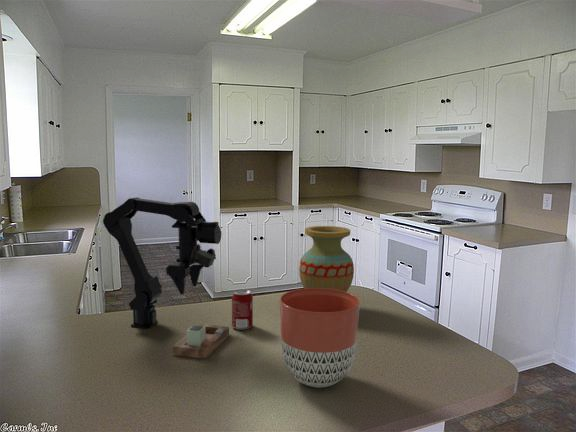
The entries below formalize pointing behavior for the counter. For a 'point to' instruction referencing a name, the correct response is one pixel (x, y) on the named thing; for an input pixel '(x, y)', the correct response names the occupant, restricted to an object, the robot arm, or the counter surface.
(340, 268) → the vase
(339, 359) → the planter
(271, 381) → the counter surface
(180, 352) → the socket block
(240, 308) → the soda can
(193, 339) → the plug
